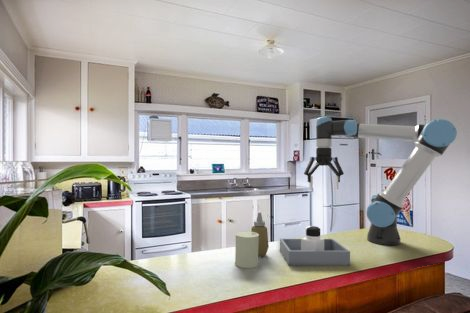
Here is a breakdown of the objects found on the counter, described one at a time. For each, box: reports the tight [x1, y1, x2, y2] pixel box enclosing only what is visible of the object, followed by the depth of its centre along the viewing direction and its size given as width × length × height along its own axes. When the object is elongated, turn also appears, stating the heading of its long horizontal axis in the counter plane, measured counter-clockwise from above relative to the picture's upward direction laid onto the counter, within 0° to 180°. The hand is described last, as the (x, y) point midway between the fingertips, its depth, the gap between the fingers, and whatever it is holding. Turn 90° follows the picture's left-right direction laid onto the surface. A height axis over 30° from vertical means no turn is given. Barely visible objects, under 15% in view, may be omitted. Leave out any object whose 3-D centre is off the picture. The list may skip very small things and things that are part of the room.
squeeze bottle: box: [250, 212, 270, 258], centre depth 126 cm, size 8×8×18 cm
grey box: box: [279, 238, 351, 267], centre depth 124 cm, size 24×18×6 cm
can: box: [234, 230, 259, 269], centre depth 116 cm, size 9×9×12 cm
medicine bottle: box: [300, 225, 325, 251], centre depth 124 cm, size 7×7×12 cm
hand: (323, 188), depth 153 cm, fingers open, 13 cm apart
